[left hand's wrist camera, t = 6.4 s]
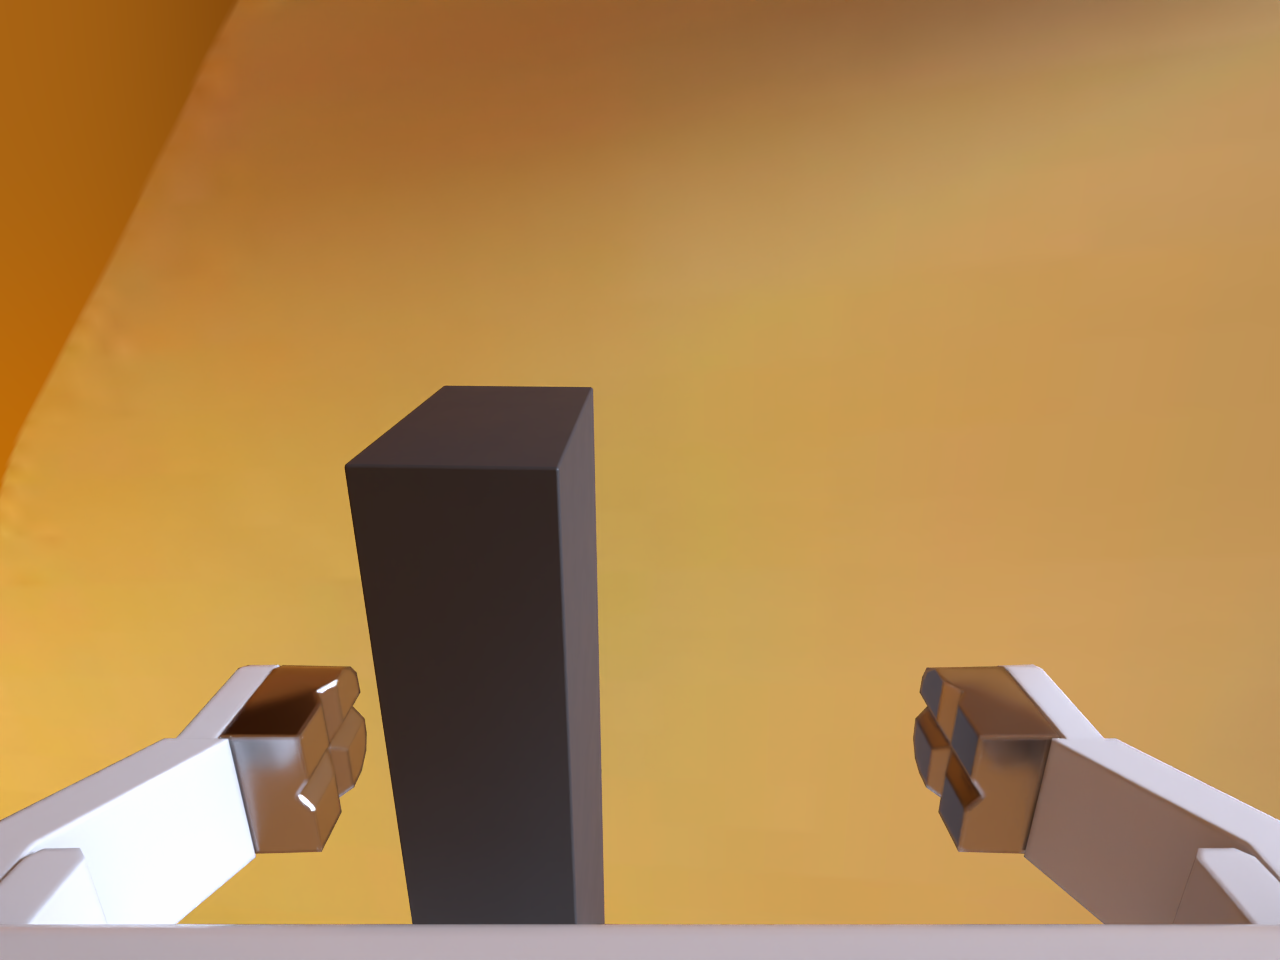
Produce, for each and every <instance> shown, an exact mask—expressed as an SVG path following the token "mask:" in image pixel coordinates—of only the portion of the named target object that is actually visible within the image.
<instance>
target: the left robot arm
mask: <svg viewBox="0 0 1280 960" xmlns="http://www.w3.org/2000/svg"><path fill="white" fill-rule="evenodd" d="M359 694H360V688H359V683H358V678H357V673H356V672H355V671H354V670H353V669H352V668H351V667H345V666H297V665H282V666H279V665H247V666H244V667H240V668H238V669H237V670H236V672H235V673H234V674H233V675H232V676H231V677H230V678H229V679H228V681H227V682H226V683H225V684H224V685H223V686H222V687H221V688H220V690H219V691H218V692H217V693H216V694H215V695H214V696H213V697H212V698H211V700H210V701H209V702H208V703H207V704H206V705H205V706H204V707H203V709H202V710H201V711H200V712H199V713H198V714H197V715H196V716H195V718H194V719H193V720H192V721H191V722H190V723H189V724H188V725H187V726H186V728H185V729H184V730H183V731H182V732H181V733H180V734H179V735H178V737H177V738H176V739H162V740H160V741H158V742H156V743H154V744H152V745H150V746H148V747H146V748H144V749H142V750H140V751H138V752H136V753H134V754H132V755H130V756H128V757H126V758H124V759H122V760H120V761H118V762H116V763H114V764H112V765H110V766H108V767H106V768H104V769H102V770H100V771H98V772H96V773H94V774H92V775H90V776H88V777H86V778H84V779H82V780H80V781H78V782H76V783H74V784H72V785H70V786H68V787H66V788H64V789H62V790H60V791H58V792H56V793H54V794H52V795H50V796H48V797H46V798H44V799H42V800H40V801H38V802H36V803H34V804H32V805H30V806H28V807H26V808H24V809H22V810H20V811H18V812H16V813H14V814H12V815H10V816H8V817H6V818H4V819H2V820H0V960H1280V821H1279V820H1277V819H1275V818H1273V817H1271V816H1269V815H1267V814H1265V813H1263V812H1261V811H1259V810H1257V809H1255V808H1253V807H1251V806H1249V805H1247V804H1245V803H1243V802H1241V801H1239V800H1237V799H1235V798H1233V797H1231V796H1229V795H1227V794H1225V793H1223V792H1221V791H1219V790H1217V789H1215V788H1213V787H1211V786H1209V785H1207V784H1205V783H1203V782H1201V781H1199V780H1197V779H1195V778H1193V777H1191V776H1189V775H1187V774H1185V773H1184V772H1182V771H1180V770H1178V769H1176V768H1174V767H1172V766H1170V765H1168V764H1166V763H1164V762H1162V761H1160V760H1158V759H1156V758H1154V757H1152V756H1150V755H1148V754H1146V753H1144V752H1142V751H1140V750H1138V749H1136V748H1134V747H1132V746H1130V745H1128V744H1126V743H1124V742H1122V741H1120V740H1118V739H1104V738H1103V737H1102V735H1101V734H1100V733H1099V732H1098V731H1097V730H1096V729H1095V728H1094V727H1093V725H1092V724H1091V723H1090V722H1089V721H1088V720H1087V719H1086V718H1085V716H1084V715H1083V714H1082V713H1081V712H1080V711H1079V710H1078V709H1077V707H1076V706H1075V705H1074V704H1073V703H1072V702H1071V701H1070V700H1069V699H1068V697H1067V696H1066V695H1065V694H1064V693H1063V692H1062V691H1061V690H1060V688H1059V687H1058V686H1057V685H1056V684H1055V683H1054V682H1053V681H1052V679H1051V678H1050V677H1049V676H1048V675H1047V674H1046V673H1045V672H1044V671H1043V669H1041V668H1039V667H1037V666H1035V665H1005V666H993V667H933V668H926V670H925V672H924V674H923V676H922V681H921V687H920V694H921V696H922V697H923V699H924V701H925V703H926V704H927V707H926V708H925V709H924V710H923V711H922V712H921V713H920V714H919V715H918V716H917V717H916V718H915V727H914V735H913V742H914V753H915V760H916V763H917V767H918V770H919V773H920V776H921V778H922V780H923V782H924V784H925V786H926V787H927V788H928V789H929V790H931V791H932V792H934V793H935V794H937V795H938V796H939V797H941V800H940V806H939V814H940V816H941V818H942V820H943V822H944V824H945V826H946V828H947V830H948V832H949V834H950V836H951V838H952V840H953V842H954V844H955V846H956V848H957V850H958V852H987V853H1022V854H1025V855H1024V857H1025V858H1026V859H1028V860H1029V861H1030V862H1031V863H1032V864H1033V865H1035V866H1036V867H1037V868H1038V869H1039V870H1041V871H1042V872H1043V873H1044V874H1045V875H1047V876H1048V877H1049V878H1050V879H1051V880H1052V881H1054V882H1055V883H1056V884H1057V885H1058V886H1060V887H1061V888H1062V889H1063V890H1064V891H1066V892H1067V893H1068V894H1069V895H1070V896H1072V897H1073V898H1074V899H1075V900H1076V901H1077V902H1079V903H1080V904H1081V905H1082V906H1083V907H1085V908H1086V909H1087V910H1088V911H1089V912H1091V913H1092V914H1093V915H1094V916H1095V917H1096V918H1098V919H1099V920H1100V921H1101V922H1102V923H1104V924H881V925H669V924H237V925H220V924H177V923H178V922H179V921H180V920H181V919H183V918H184V917H185V916H186V915H187V914H188V913H190V912H191V911H192V910H193V909H194V908H196V907H197V906H198V905H199V904H200V903H202V902H203V901H204V900H205V899H206V898H208V897H209V896H210V895H211V894H212V893H213V892H215V891H216V890H217V889H218V888H219V887H221V886H222V885H223V884H224V883H225V882H227V881H228V880H229V879H230V878H231V877H233V876H234V875H235V874H236V873H237V872H239V871H240V870H241V869H242V868H243V867H244V866H246V865H247V864H248V863H249V862H250V861H252V860H253V859H254V858H255V857H256V855H255V854H257V853H292V852H322V850H323V848H324V846H325V844H326V842H327V840H328V838H329V836H330V834H331V832H332V830H333V828H334V826H335V824H336V822H337V820H338V818H339V816H340V814H341V806H340V800H339V797H341V796H342V795H343V794H345V793H346V792H348V791H349V790H350V789H352V788H353V787H354V786H355V784H356V782H357V780H358V777H359V775H360V773H361V771H362V767H363V762H364V758H365V753H366V736H367V733H366V726H365V719H364V718H363V716H362V715H361V714H360V713H359V712H358V711H357V710H356V709H355V708H354V707H353V704H354V703H355V701H356V699H357V697H358V696H359Z"/></svg>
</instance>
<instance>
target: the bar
mask: <svg viewBox="0 0 1280 960" xmlns="http://www.w3.org/2000/svg"><path fill="white" fill-rule="evenodd" d="M345 473H346V480H347V487H348V493H349V500H350V507H351V514H352V520H353V527H354V534H355V540H356V547H357V554H358V561H359V567H360V574H361V581H362V587H363V594H364V601H365V608H366V614H367V621H368V628H369V634H370V641H371V648H372V655H373V661H374V668H375V675H376V681H377V688H378V695H379V702H380V708H381V715H382V722H383V728H384V735H385V742H386V749H387V755H388V762H389V769H390V775H391V782H392V789H393V796H394V802H395V809H396V816H397V822H398V829H399V836H400V843H401V849H402V856H403V863H404V869H405V876H406V883H407V890H408V896H409V903H410V910H411V916H412V923H413V924H605V921H604V875H603V829H602V783H601V737H600V690H599V644H598V598H597V552H596V506H595V460H594V413H593V389H592V388H591V387H512V386H443V387H442V388H441V389H440V390H438V391H437V392H436V393H435V394H433V395H432V396H431V397H430V398H428V399H427V400H426V401H425V402H423V403H422V404H421V405H420V406H418V407H417V408H416V409H415V410H413V411H412V412H411V413H410V414H408V415H407V416H406V417H405V418H403V419H402V420H401V421H400V422H398V423H397V424H396V425H395V426H393V427H392V428H391V429H390V430H388V431H387V432H386V433H384V434H383V435H382V436H381V437H379V438H378V439H377V440H376V441H374V442H373V443H372V444H371V445H369V446H368V447H367V448H366V449H364V450H363V451H362V452H361V453H359V454H358V455H357V456H356V457H354V458H353V459H352V460H351V461H349V462H348V463H347V464H346V465H345Z"/></svg>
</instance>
